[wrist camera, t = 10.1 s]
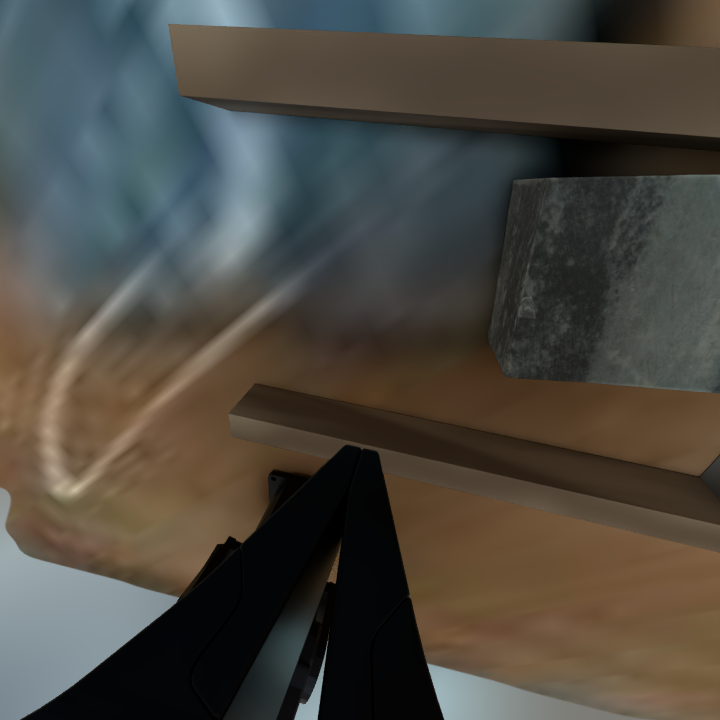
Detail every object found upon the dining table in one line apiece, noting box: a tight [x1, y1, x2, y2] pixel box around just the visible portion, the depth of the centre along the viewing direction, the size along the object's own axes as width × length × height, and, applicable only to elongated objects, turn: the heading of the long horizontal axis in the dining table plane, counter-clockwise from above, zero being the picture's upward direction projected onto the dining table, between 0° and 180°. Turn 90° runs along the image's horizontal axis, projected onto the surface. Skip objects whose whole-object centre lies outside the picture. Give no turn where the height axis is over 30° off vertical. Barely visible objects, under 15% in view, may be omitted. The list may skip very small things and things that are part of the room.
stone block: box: [488, 174, 720, 393], centre depth 13 cm, size 9×14×5 cm, turn 91°
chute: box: [168, 24, 720, 553], centre depth 16 cm, size 20×31×4 cm, turn 85°
